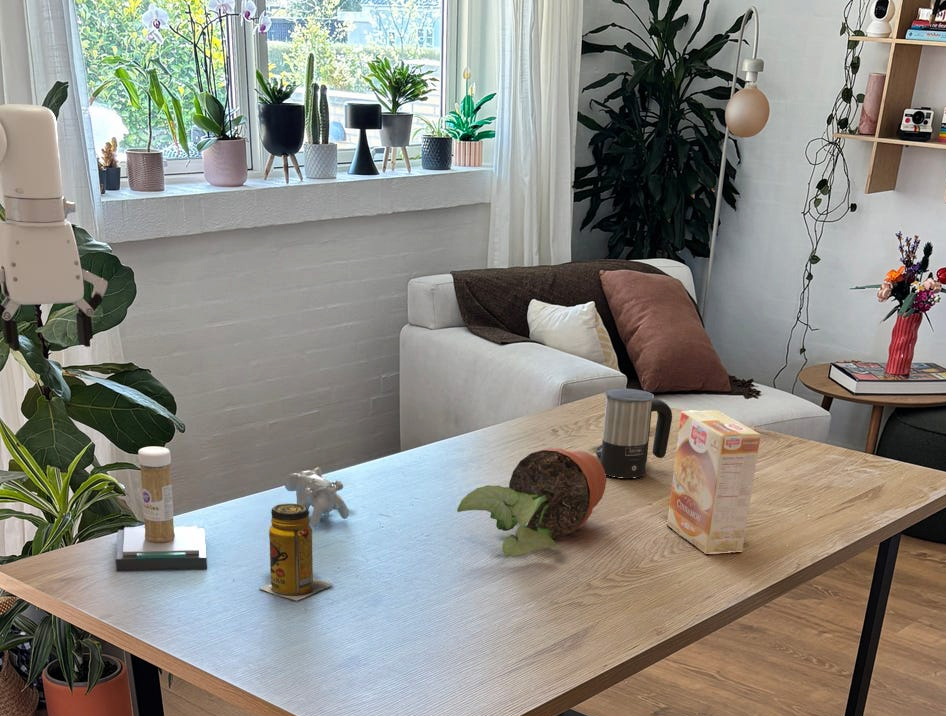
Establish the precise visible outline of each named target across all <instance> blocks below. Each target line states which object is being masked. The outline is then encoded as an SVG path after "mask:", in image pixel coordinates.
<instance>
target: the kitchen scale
mask: <svg viewBox="0 0 946 716" xmlns="http://www.w3.org/2000/svg"><path fill="white" fill-rule="evenodd" d="M174 534H175V538H174V539H173V540H170V541H168V542H161V543H158V542H151V541H148V540H147V539H146V538H145V526H127V527H125V526H124V527H123V529H118V530H117V538H116V552H115V567H116V572H132V571H133V572H134V571H136V572H137V571H138V572H139V571H174V570H175V571H177V570H179V571H181V570H208V561H207V560H208V559H207V548H206V547H207V546H206V537H205V528H198V526H197V525H190V526H189V525H188V526H187V525H185V526H184V525H183V526H182V525H181V526H179V525H178V526H174Z"/></svg>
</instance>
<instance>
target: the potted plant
mask: <svg viewBox="0 0 946 716" xmlns="http://www.w3.org/2000/svg"><path fill="white" fill-rule="evenodd" d="M606 486H607V476H606V475H605V471H604V469H603V467H602V465H601V462H600V460H599V458H598V457H596V456H595V455H594V454H591V453H589V452H587V451H582V450H566V449H563V448H556V447H555V448H553V447H549V448H545V449H541V450H538V451H534V452H531V453H530V454H528V455H527V456H525V457H524V458H523V459H521V460H519V462H518V464H517V465H516V466H515V468H514V469H513V471H512V473H511V478H510V480H509V483H508V487H507V486H501V485H490V484H489V485H484V486H481V487H477V488H475V489H473V490H472V491H471V492H469V493H467V495H465V497H463V498H462V499H461V501H460V503H459V505H458V506H457V509H456V511H457V513H461V512H467V511H468V512H469V511H485V512H489V513H490V519H493V520H495V521H496V523H495V524H496V525H495V527H496V528H497V530H498V531H500V530H501V531H503V532H509V531H511V530H513V529H515V527H516V526H517V525H518V524H520V525H519V526H518V527H517V529H516V532H515V535H514V534H511V535H509V536H507V537H506V538H505V539H504V540H503V542H502V553H503V554H504V556H505V557H512V558H515V557H518V556H525V555H527V554H528V553H532V552H534V551H537V550H540V549H543V548H551V547H552V548H554V549H557V550H558V546H557V543H556V542H555V541H554V539H555V538H559V537H564V536H567V535H569V534H572V533H573V532H574V531H577V529H579V528H581V527H582V526H584V524H586V521H587V520H588V519H589V518H590V517H591V515H592V512H593V509H594V508H595V507H596V506H598V504H599V503H600V502H601V500H602V499H603V496H604V494H605V492H606V491H605V490H606ZM553 537H555V538H553Z"/></svg>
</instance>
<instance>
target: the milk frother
mask: <svg viewBox="0 0 946 716" xmlns="http://www.w3.org/2000/svg"><path fill="white" fill-rule="evenodd" d="M604 394H605V397H606V398H605V409H604V410H605V411H604V420H603V431H602V441H601V445H599V446H598V447H597V448H596V450H595V454H596V456H597V458H598V459H600V458H601V459H600V460H599V461H600V462H601V465H602V467H603V469H604V471H605V474H606V475H610V476H615V477H623V478H633V477H640V476H643V475H644V476H646V474H647V471H646V465H647V461H648V454H649V453H648V452H649V444H650V443H649V442H650V432H651V422H652V413H653V412H656V413H657V418H656V425H655V432H654V438H653V444H652V454H653V456H655V457H656V458H658V459H662V458H663V459H664V458H665V456H666V454H667V449H668V443H669V438H670V434H671V433H670V432H671V428H672V422H673V411H672V409H671V407H670V406H669V404H667V403H666V402H664V401H663V400H661V399H658V398H655V395H654V394H653V393H651V392H649V391H646V390H642V389H635V388H614V389H608V390H607V391H605V392H604ZM644 476H643V477H644ZM640 478H641V477H640Z"/></svg>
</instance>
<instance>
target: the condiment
mask: <svg viewBox="0 0 946 716" xmlns="http://www.w3.org/2000/svg"><path fill="white" fill-rule="evenodd" d="M270 513H271V519H270V522H271V525H270V526H269V529H268V537H269V564H270V565H269V568H270V569H269V570H270V583H269V584H266V585H264V586H262V587H258V589H259V590H262V591H264V592H267V593H269V594H272V595H275V596H279V597H281V598H282V597H283V598H286V599H290V600H293V601H296V602H297V601H300V600H302V599H306V598H307V597H310V596H312V595H315V594H316V593H318V592H320V591H323V590H325V589H327V588H329V587H331V586H334V585H335V583H333V582H327V581H324V580H320V579H317V578H314V566H313V563H314V561H313V559H314V558H313V557H314V556H313V529H312V528H313V527H311V524H310V510H308V509H307V508H306V507H305V506H303V505H299V504H297V503H281V504H277V505H274V506H273V507H272V508H271V512H270Z"/></svg>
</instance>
